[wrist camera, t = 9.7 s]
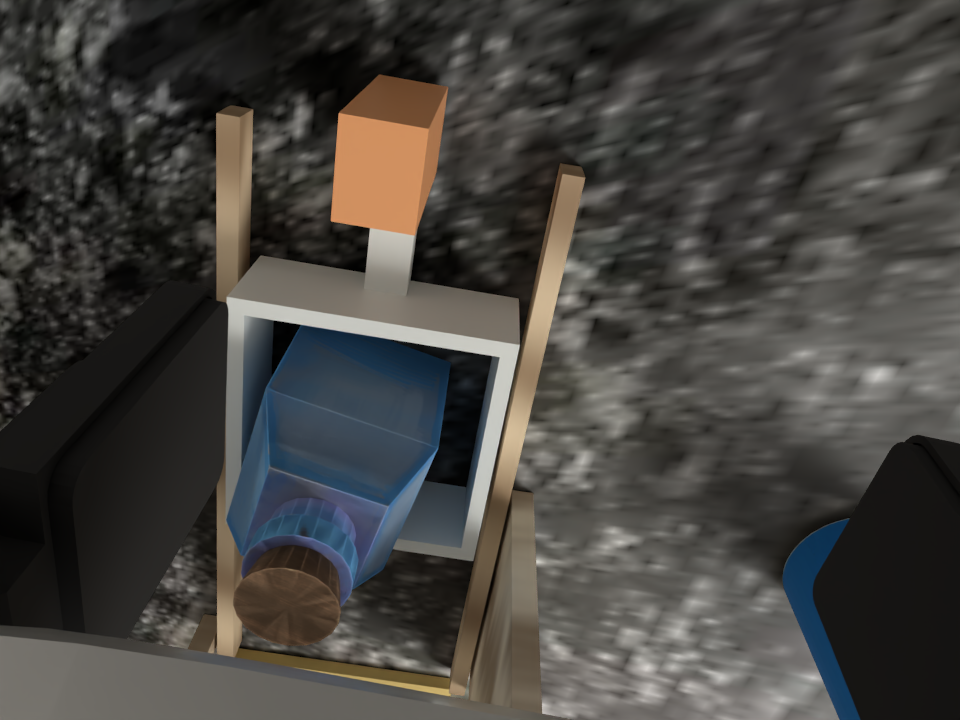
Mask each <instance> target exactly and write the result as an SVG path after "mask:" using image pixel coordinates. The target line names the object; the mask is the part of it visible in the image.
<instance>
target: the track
mask: <svg viewBox="0 0 960 720" xmlns="http://www.w3.org/2000/svg"><path fill="white" fill-rule="evenodd" d="M252 135H253V109H249V108H244V107H238V106H232V105H230V106H228V107H226V108H225V109H223V110H221V111H219V112H217V113H216V240H217V301H222V302H226V304H227V296H228V295H229V293H230V292H231V291H232V290H233V288H234V287H235V286H236V285H237V284H238V282H239V281H240V280H241V279H242V278H243V276H244V275H245V274H246V273H247V271H248V270H249V269H250V231H251V183H252ZM584 181H585V176H584V173H583V169H582V167H579V166H573V165H567V164H562V163H560V166H559V171H558V176H557V180H556V185H555V190H554V194H553V199H552V203H551V208H550V213H549V217H548V222H547V227H546V231H545V236H544V241H543V245H542V250H541V254H540V259H539V264H538V268H537V273H536V278H535V282H534V287H533V291H532V296H531V301H530V305H529V310H528V315H527V319H526V324H525V328H524V333H523V338H522V342H521V347H520V352H519V356H518V361H517V365H516V370H515V375H514V379H513V384H512V389H511V393H510V398H509V402H508V407H507V412H506V416H505V421H504V426H503V430H502V435H501V439H500V444H499V449H498V453H497V458H496V463H495V467H494V472H493V477H492V481H491V486H490V490H489V495H488V500H487V504H486V509H485V514H484V518H483V523H482V527H481V532H480V537H479V541H478V546H477V551H476V555H475V560H474V564H473V569H472V574H471V578H470V583H469V588H468V592H467V597H466V601H465V606H464V611H463V615H462V620H461V625H460V629H459V634H458V638H457V643H456V648H455V652H454V657H453V662H452V666H451V673H450V685H449V694H454V695H462V696H464V693H465V689H466V685H467V681H468V676H469V672H470V668H471V664H472V659H473V655H474V651H475V647H476V642H477V638H478V634H479V629H480V625H481V621H482V617H483V612H484V608H485V604H486V600H487V595H488V591H489V587H490V582H491V578H492V574H493V570H494V565H495V561H496V557H497V553H498V548H499V544H500V540H501V535H502V531H503V527H504V523H505V518H506V514H507V510H508V506H509V501H510V497H511V493H512V488H513V484H514V480H515V476H516V471H517V467H518V463H519V459H520V454H521V450H522V446H523V442H524V437H525V433H526V429H527V424H528V420H529V416H530V412H531V407H532V403H533V399H534V395H535V390H536V386H537V382H538V377H539V373H540V369H541V365H542V360H543V356H544V352H545V348H546V343H547V339H548V335H549V330H550V326H551V322H552V318H553V313H554V309H555V305H556V301H557V296H558V292H559V288H560V283H561V279H562V275H563V271H564V266H565V262H566V258H567V254H568V249H569V245H570V241H571V236H572V232H573V228H574V224H575V219H576V215H577V211H578V207H579V202H580V198H581V194H582V190H583V185H584ZM225 512H226V419H225V453H224V464H223V469H222V473H221V476H220V479H219V481H218V483H217V654H219V655H224V656H230V657H235V656H236V654H237V651H238V648H239V646H240V643H241V641H242V622H241V621H240V619H239V618H238V617H237V615H236V612H235V609H234V606H233V598H234V591H235V590H236V588H237V586H238V585H239V583H240V581H241V580H242V579H243V578H242V575H241V569H242V561H243V558H244V556H242V555H240V553H239V550H238V548H237V545H236V543H235V541H234V538H233V536H232V533H231V531H230V529H229V526H228V524H225Z"/></svg>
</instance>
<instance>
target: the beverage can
mask: <svg viewBox="0 0 960 720" xmlns="http://www.w3.org/2000/svg"><path fill="white" fill-rule="evenodd" d="M849 519H850V518H848V519H844V520H840V521H836V522H833V523H830V524H828V525H826V526H824V527H822V528H820V529H818V530H816V531H814V532H813V533H811V534H810V535H809V536H807V537H806V538H805V539H803V540H802V541H801V542H800V543H799V544H798V545H797V546H796V547H795V549H794V550H793V551H792V553H791V554H790V556H789V557H788V559H787V561H786V563H785V567H784V570H783V586H784V590H785V592H786V595H787V597H788V600H789V602H790V604H791V607H792V609H793V611H794V614H795V616H796V618H797V621H798V623H799V625H800V628H801V630H802V632H803V635H804V637H805V639H806V642H807V644H808V646H809V649H810V651H811V653H812V656H813V658H814V661H815V663H816V665H817V668H818V670H819V672H820V675H821V677H822V679H823V682H824V684H825V686H826V689H827V691H828V693H829V696H830V698H831V700H832V703H833V705H834V707H835V710H836V712H837V715H838V717H839V719H840V720H860V717H859V715H858V712H857V710H856V707H855V705H854V702H853V700H852V697H851V695H850V692H849V690H848V687H847V685H846V682H845V680H844V677H843V675H842V672H841V670H840V667H839V665H838V662H837V660H836V657H835V655H834V652H833V650H832V647H831V645H830V642H829V640H828V637H827V635H826V632H825V630H824V627H823V624H822V622H821V619H820V617H819V614H818V612H817V609H816V607H815V604H814V601H813V584H814V580H815V578H816V575H817V574H818V572H819V570H820V569H821V567H822V565H823V563H824V562H825V560H826V558H827V557H828V555H829V553H830V552H831V550H832V548H833V546H834V545H835V543H836V541H837V540H838V538H839V536H840V535H841V533H842V531H843V529H844V528H845V526H846V524H847V523H848V521H849Z"/></svg>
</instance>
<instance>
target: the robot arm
mask: <svg viewBox="0 0 960 720" xmlns="http://www.w3.org/2000/svg"><path fill="white" fill-rule="evenodd" d="M228 316H229V314H228V306H227V304H226V302H222V301H217V299H216V294H215V292H214V290H213V289H211V288H206V287H201V286H196V285H192V284H187V283H182V282H177V281H172V280H169V281H167V282H166V283H164V284H163V285H162V286H161V287H160V288H159V289H158V290H157V291H156V292H155V293H154V294H153V295H152V296H151V297H150V298H148V299H147V300H146V301H145V302H144V303H143V304H142V305H141V306H140V307H139V308H138V309H137V310H136V311H135V312H134V313H133V314H132V315H130V316H129V317H128V318H127V319H126V320H125V321H124V322H123V323H122V324H121V325H120V326H119V327H118V328H117V329H116V330H115V331H114V332H112V333H111V334H110V335H109V336H108V337H107V338H106V339H105V340H104V341H103V342H102V343H101V344H100V345H99V346H98V347H97V348H96V349H94V350H93V351H92V352H91V353H90V354H89V355H88V356H87V357H86V358H85V359H84V360H83V361H78V362H76V363H75V364H73V365H72V366H70V367H69V368H68V369H67V370H66V371H65V372H64V373H62V374H61V375H60V376H59V377H58V378H57V379H56V380H55V381H54V382H53V383H52V384H51V385H50V386H49V387H47V388H46V389H45V390H44V391H43V392H42V393H41V394H40V395H39V396H38V397H37V398H36V399H35V400H33V401H32V402H31V403H30V404H29V405H28V406H27V407H26V408H25V409H24V410H23V411H22V412H21V413H20V414H18V415H17V416H16V417H15V418H14V419H13V420H12V421H11V422H10V423H9V424H8V425H7V426H6V427H4V428H3V429H2V430H1V431H0V720H572V719H567V718H561V717H556V716H551V715H546V714H540V713H535V712H530V711H525V710H519V709H514V708H509V707H504V706H498V705H493V704H487V703H482V702H477V701H471V700H466V699H461V698H455V697H450V696H444V695H439V694H434V693H428V692H423V691H417V690H412V689H407V688H401V687H396V686H390V685H385V684H380V683H374V682H369V681H363V680H358V679H353V678H347V677H342V676H337V675H331V674H326V673H320V672H315V671H310V670H304V669H299V668H293V667H288V666H283V665H277V664H271V663H266V662H260V661H254V660H248V659H242V658H236V657H230V656H224V655H219V654H213V653H207V652H201V651H195V650H189V649H183V648H178V647H172V646H166V645H160V644H153V643H147V642H141V641H135V640H129V639H127V638H128V636H129V634H130V632H131V631H132V629H133V627H134V626H135V624H136V622H137V620H138V619H139V617H140V615H141V614H142V612H143V610H144V608H145V607H146V605H147V603H148V602H149V600H150V598H151V597H152V595H153V593H154V591H155V590H156V588H157V586H158V585H159V583H160V581H161V579H162V578H163V576H164V574H165V573H166V571H167V569H168V567H169V566H170V564H171V562H172V561H173V559H174V557H175V555H176V554H177V552H178V550H179V549H180V547H181V545H182V543H183V542H184V540H185V538H186V537H187V535H188V533H189V532H190V530H191V528H192V526H193V525H194V523H195V521H196V520H197V518H198V516H199V514H200V513H201V511H202V509H203V508H204V506H205V504H206V502H207V501H208V499H209V497H210V496H211V494H212V492H213V490H214V489H215V487H216V485H217V483H218V481H219V479H220V476H221V473H222V469H223V464H224V453H225V419H226V385H227V350H228ZM813 601H814V604H815V607H816V609H817V612H818V614H819V617H820V619H821V622H822V624H823V627H824V630H825V632H826V635H827V637H828V640H829V642H830V645H831V647H832V650H833V652H834V655H835V657H836V660H837V662H838V665H839V667H840V670H841V672H842V675H843V677H844V680H845V682H846V685H847V687H848V690H849V692H850V695H851V697H852V700H853V702H854V705H855V707H856V710H857V712H858V715H859V717H860V720H960V444H958V443H954V442H949V441H945V440H940V439H935V438H930V437H925V436H920V435H916V436H912V437H910V438H909V439H907V440H906V441H905V442H900V443H897V444H896V445H894V446H893V447H892V449H891V450H890V451H889V453H888V455H887V456H886V458H885V460H884V461H883V463H882V465H881V466H880V468H879V470H878V472H877V473H876V475H875V477H874V478H873V480H872V482H871V483H870V485H869V487H868V489H867V490H866V492H865V494H864V495H863V497H862V499H861V500H860V502H859V504H858V506H857V507H856V509H855V511H854V512H853V514H852V516H851V517H850V519H849V521H848V523H847V524H846V526H845V528H844V529H843V531H842V533H841V535H840V536H839V538H838V540H837V541H836V543H835V545H834V546H833V548H832V550H831V552H830V553H829V555H828V557H827V558H826V560H825V562H824V563H823V565H822V567H821V569H820V570H819V572H818V574H817V575H816V578H815V580H814V584H813Z"/></svg>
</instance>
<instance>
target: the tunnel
mask: <svg viewBox="0 0 960 720" xmlns="http://www.w3.org/2000/svg"><path fill="white" fill-rule="evenodd" d="M216 646H217V616H213V615H207V614H204V615H203V617H202V619H201V621H200V623H199V626H198V628H197V630H196V632H195V634H194V636H193V639H192V641H191V643H190V645H189V647H188V649H189V650H195V651H201V652H207V653H214V651H215V648H216ZM469 700H471V701H477V702H482V703H487V704H493V705H498V706H504V707H509V708H514V709H519V710H525V711H530V712H535V713H540V714H542V700H541V675H540V650H539V625H538V600H537V575H536V550H535V525H534V500H533V493H529V492H522V491H516V490H512V493H511V497H510V501H509V506H508V510H507V514H506V518H505V523H504V527H503V531H502V535H501V540H500V544H499V548H498V553H497V557H496V561H495V565H494V570H493V574H492V578H491V582H490V587H489V591H488V595H487V600H486V604H485V608H484V612H483V617H482V621H481V625H480V629H479V634H478V638H477V642H476V647H475V651H474V655H473V659H472V664H471V668H470V686H469Z"/></svg>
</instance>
